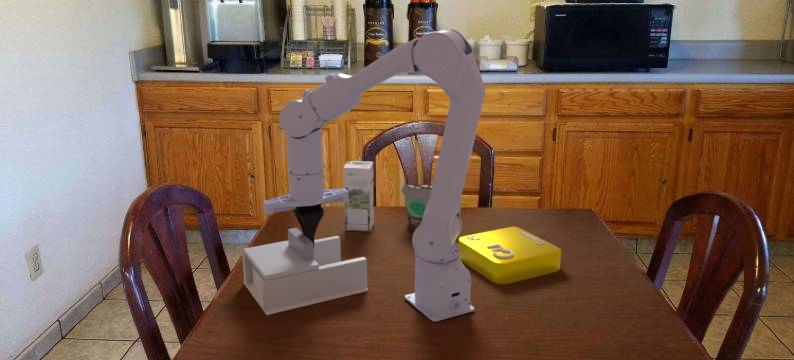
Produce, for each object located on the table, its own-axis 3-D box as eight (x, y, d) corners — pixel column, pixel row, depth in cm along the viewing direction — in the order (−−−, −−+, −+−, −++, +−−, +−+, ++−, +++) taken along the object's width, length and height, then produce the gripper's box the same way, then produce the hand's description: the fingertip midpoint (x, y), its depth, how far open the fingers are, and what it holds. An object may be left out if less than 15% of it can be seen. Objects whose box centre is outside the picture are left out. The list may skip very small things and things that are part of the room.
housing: (367, 290, 110) (367, 259, 108) (266, 315, 101) (264, 282, 100) (337, 263, 120) (336, 235, 119) (243, 283, 112) (241, 253, 110)
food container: (394, 231, 137) (394, 187, 134) (402, 222, 142) (402, 179, 140) (450, 237, 133) (451, 192, 130) (456, 227, 139) (457, 184, 136)
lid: (318, 268, 104) (318, 247, 103) (265, 280, 100) (264, 258, 99) (293, 243, 114) (292, 223, 113) (243, 252, 110) (242, 232, 109)
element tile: (564, 271, 118) (566, 248, 117) (498, 288, 112) (499, 263, 110) (514, 244, 131) (516, 222, 130) (453, 257, 124) (453, 234, 123)
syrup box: (374, 223, 142) (373, 160, 137) (370, 232, 136) (370, 167, 132) (349, 222, 142) (347, 159, 138) (344, 231, 136) (342, 166, 132)
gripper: (336, 160, 112) (338, 231, 116) (255, 170, 105) (260, 246, 109) (353, 169, 106) (354, 244, 110) (268, 181, 99) (273, 261, 103)
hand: (308, 246), depth 109 cm, fingers closed
